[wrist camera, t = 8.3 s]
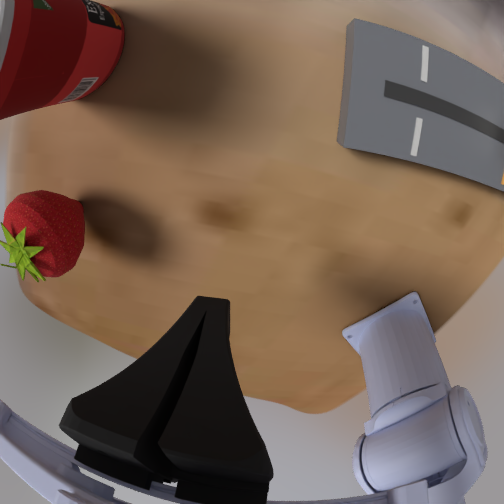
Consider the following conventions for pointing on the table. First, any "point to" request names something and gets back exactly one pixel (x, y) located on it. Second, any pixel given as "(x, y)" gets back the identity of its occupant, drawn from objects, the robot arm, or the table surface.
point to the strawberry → (43, 233)
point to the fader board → (421, 104)
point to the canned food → (55, 51)
